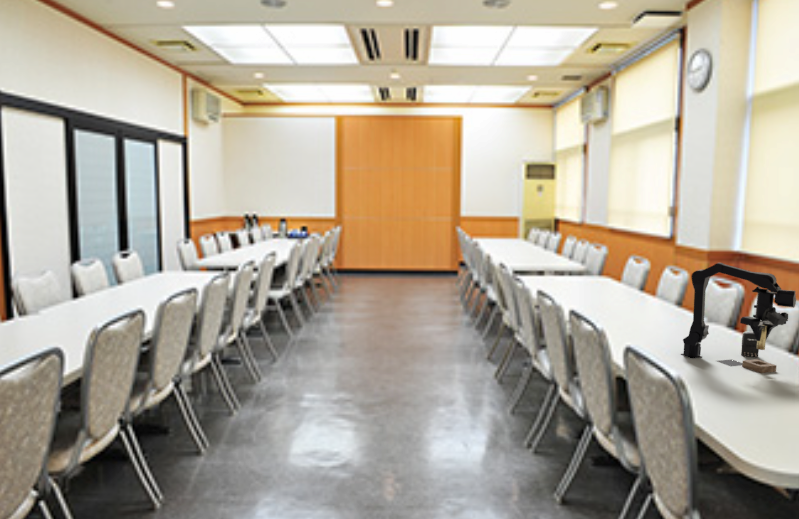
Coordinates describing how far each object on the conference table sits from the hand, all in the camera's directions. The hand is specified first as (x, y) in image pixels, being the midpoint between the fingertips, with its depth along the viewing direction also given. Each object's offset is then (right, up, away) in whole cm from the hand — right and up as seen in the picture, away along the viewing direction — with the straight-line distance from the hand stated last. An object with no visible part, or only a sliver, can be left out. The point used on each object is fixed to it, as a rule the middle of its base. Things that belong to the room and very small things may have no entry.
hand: (761, 340), depth 238 cm
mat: (-7, -11, +10) cm, 17 cm away
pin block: (0, -13, +1) cm, 13 cm away
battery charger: (+8, -11, +20) cm, 24 cm away
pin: (0, -4, 0) cm, 4 cm away
